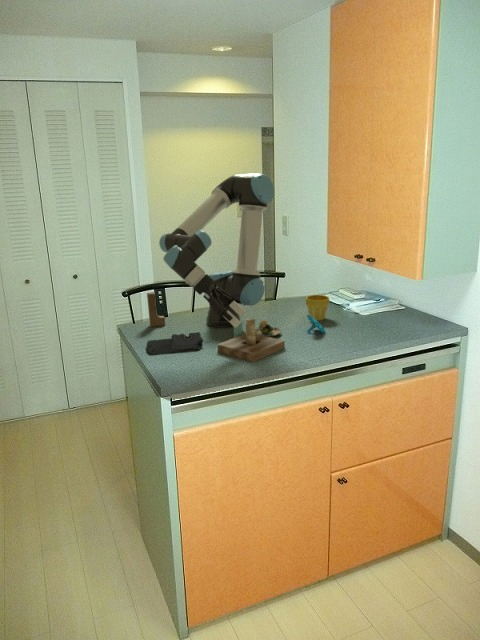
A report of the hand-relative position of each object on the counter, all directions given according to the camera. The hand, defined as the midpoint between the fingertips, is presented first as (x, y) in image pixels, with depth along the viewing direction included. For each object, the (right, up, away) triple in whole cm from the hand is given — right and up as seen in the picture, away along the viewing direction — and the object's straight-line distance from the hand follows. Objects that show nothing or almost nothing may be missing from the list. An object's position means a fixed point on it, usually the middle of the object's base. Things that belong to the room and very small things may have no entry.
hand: (241, 319), depth 192 cm
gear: (+31, -5, +21) cm, 38 cm away
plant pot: (+35, 0, +40) cm, 53 cm away
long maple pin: (+4, -12, +3) cm, 13 cm away
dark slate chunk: (-26, -11, +11) cm, 31 cm away
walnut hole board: (+4, -11, +3) cm, 13 cm away
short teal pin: (-1, -8, +15) cm, 18 cm away
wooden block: (-38, -3, +40) cm, 55 cm away
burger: (+11, -7, +21) cm, 24 cm away
